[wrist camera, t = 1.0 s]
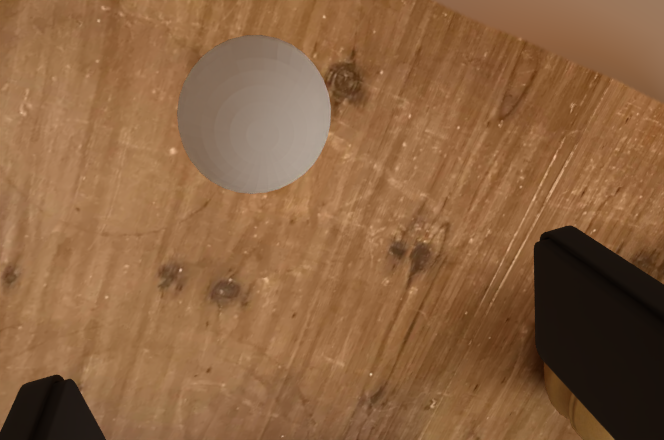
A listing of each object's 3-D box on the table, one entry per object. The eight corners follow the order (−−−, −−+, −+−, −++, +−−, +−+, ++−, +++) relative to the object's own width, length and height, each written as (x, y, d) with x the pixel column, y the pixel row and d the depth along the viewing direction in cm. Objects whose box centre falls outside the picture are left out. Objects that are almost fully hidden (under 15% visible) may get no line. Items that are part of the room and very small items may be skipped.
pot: (599, 399, 51) (683, 487, 42) (502, 383, 47) (572, 476, 38) (664, 298, 47) (771, 370, 38) (564, 272, 43) (657, 345, 34)
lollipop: (213, -2, 29) (220, 6, 16) (304, 49, 32) (377, 93, 18) (170, 97, 31) (144, 179, 18) (259, 139, 33) (297, 240, 20)
